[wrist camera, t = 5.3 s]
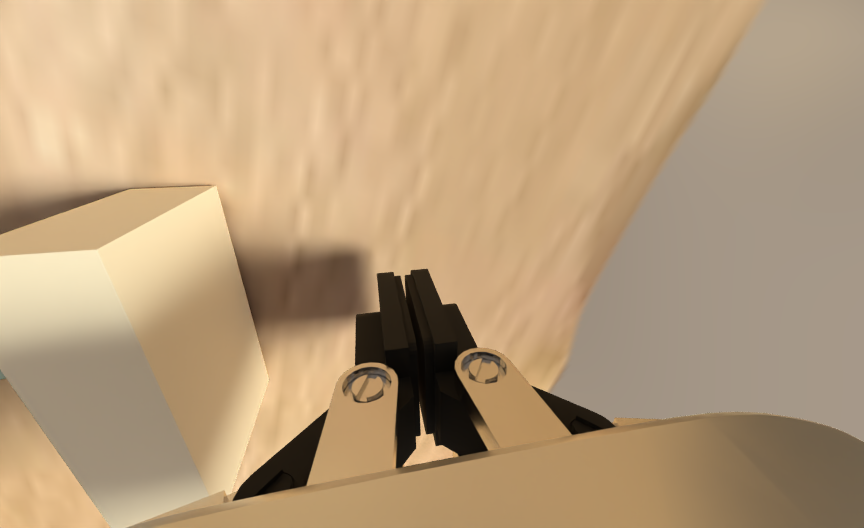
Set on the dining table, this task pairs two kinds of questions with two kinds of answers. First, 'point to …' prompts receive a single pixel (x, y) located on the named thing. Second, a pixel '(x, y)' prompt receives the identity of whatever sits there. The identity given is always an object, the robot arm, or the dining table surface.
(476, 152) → the dining table surface
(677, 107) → the dining table surface
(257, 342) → the mint t-bar
